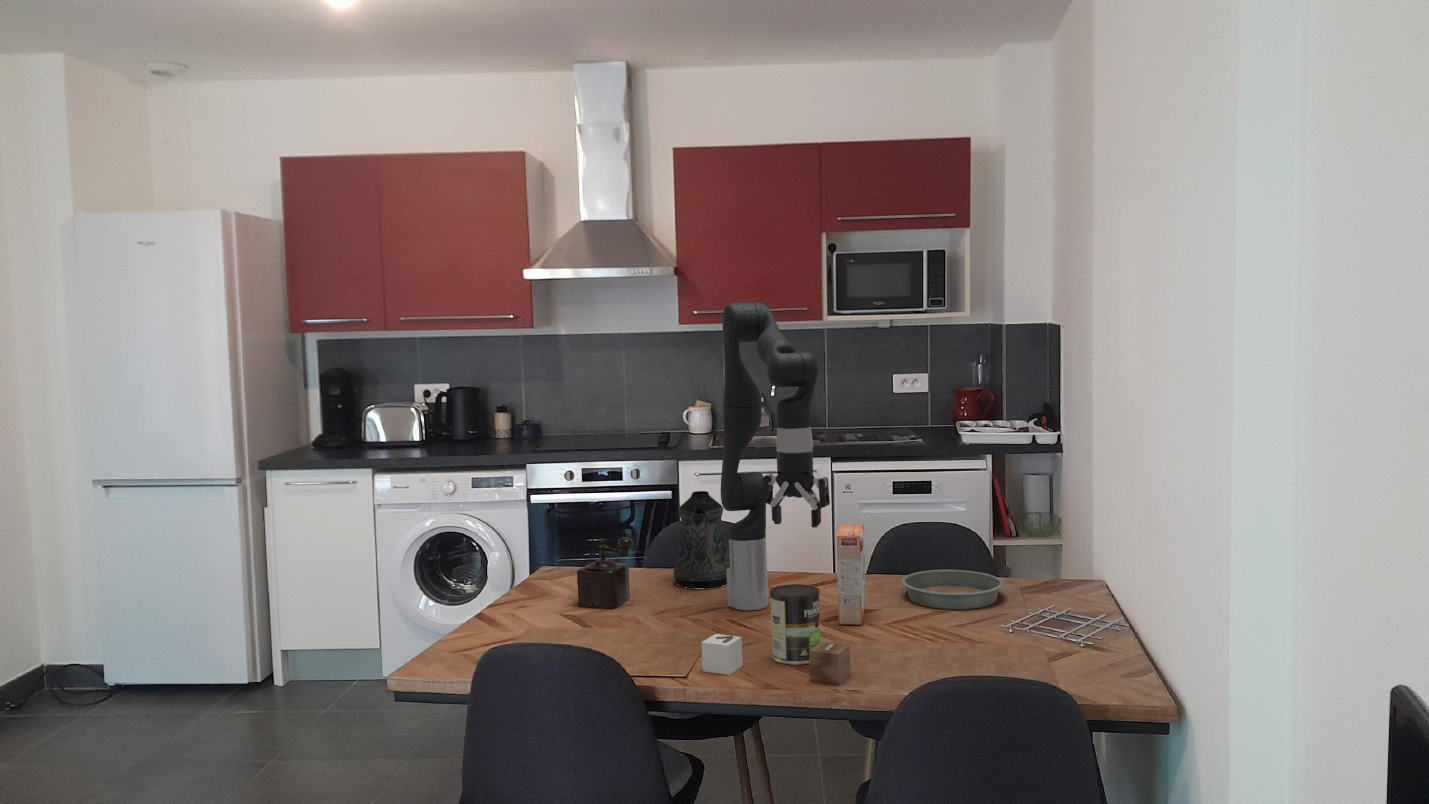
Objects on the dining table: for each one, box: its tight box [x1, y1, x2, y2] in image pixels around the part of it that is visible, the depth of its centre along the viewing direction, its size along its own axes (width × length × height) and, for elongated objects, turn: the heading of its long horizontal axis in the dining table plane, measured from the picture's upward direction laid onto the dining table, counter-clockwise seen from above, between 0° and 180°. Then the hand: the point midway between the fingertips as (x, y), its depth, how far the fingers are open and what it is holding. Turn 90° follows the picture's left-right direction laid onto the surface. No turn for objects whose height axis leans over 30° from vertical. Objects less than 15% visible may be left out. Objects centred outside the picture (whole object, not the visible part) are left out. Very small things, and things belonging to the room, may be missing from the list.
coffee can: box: [768, 583, 821, 666], centre depth 202 cm, size 10×10×14 cm
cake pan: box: [901, 569, 1004, 610], centre depth 243 cm, size 25×25×4 cm
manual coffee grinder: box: [576, 536, 634, 609], centre depth 249 cm, size 16×11×18 cm
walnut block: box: [809, 641, 851, 685], centre depth 189 cm, size 6×6×6 cm
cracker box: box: [836, 523, 866, 626], centre depth 228 cm, size 14×6×21 cm, turn 168°
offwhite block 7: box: [701, 633, 744, 676], centre depth 197 cm, size 6×6×6 cm
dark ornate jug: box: [672, 490, 730, 589], centre depth 265 cm, size 16×19×25 cm
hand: (796, 525), depth 205 cm, fingers open, 8 cm apart
